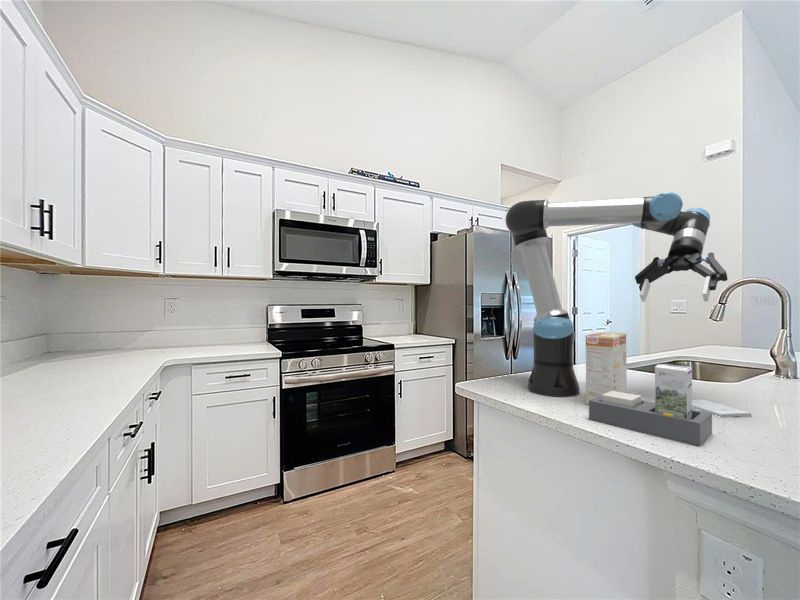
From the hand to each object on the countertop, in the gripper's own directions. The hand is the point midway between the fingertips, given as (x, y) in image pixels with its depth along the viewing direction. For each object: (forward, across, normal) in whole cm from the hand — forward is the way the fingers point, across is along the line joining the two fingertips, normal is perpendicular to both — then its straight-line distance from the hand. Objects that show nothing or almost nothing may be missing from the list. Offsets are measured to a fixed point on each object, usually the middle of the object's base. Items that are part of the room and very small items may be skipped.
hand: (671, 297), depth 94 cm
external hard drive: (+16, -7, -27) cm, 32 cm away
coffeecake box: (+25, +14, -17) cm, 34 cm away
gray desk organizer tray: (+35, 0, -7) cm, 36 cm away
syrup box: (+36, -5, -7) cm, 36 cm away
